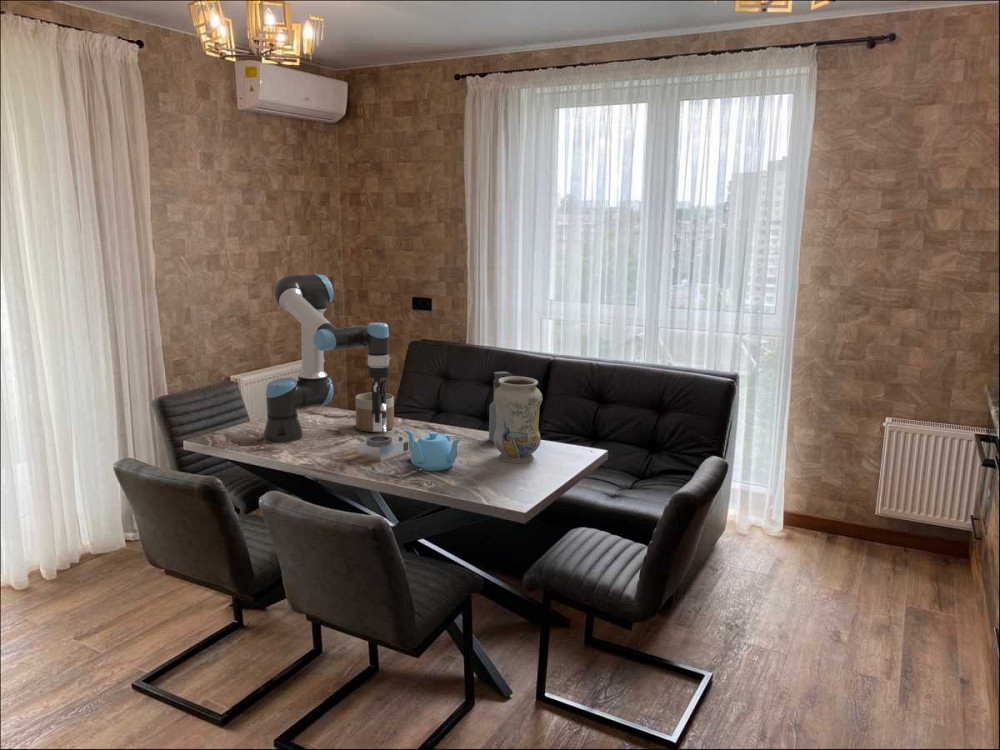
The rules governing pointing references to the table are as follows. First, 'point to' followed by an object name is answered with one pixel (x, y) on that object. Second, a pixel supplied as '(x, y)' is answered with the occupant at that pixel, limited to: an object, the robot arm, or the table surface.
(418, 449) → the teapot
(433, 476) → the table surface
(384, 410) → the lens
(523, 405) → the vase
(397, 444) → the camera body
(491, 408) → the water bottle
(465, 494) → the table surface
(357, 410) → the planter
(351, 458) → the board
